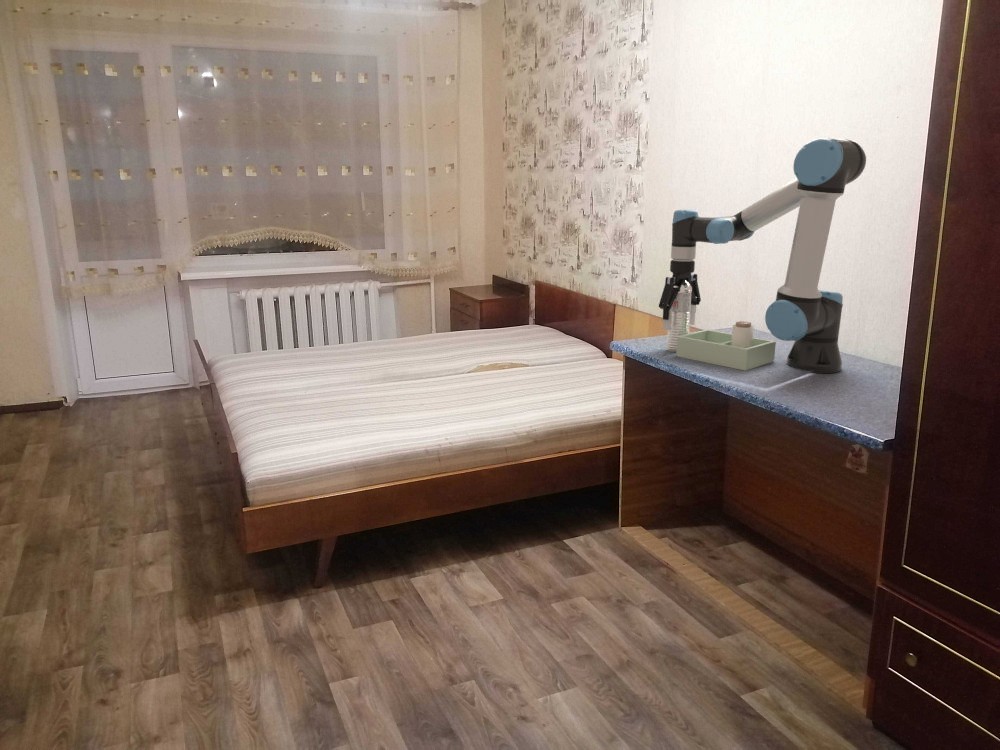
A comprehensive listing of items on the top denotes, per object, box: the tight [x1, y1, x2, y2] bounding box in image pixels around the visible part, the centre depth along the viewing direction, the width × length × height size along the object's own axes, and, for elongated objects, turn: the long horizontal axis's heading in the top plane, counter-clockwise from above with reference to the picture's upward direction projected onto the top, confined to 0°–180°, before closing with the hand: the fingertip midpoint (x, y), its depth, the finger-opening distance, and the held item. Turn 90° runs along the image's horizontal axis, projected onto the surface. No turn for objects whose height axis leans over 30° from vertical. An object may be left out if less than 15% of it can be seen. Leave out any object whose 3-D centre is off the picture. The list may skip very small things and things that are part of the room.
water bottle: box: [666, 280, 692, 354], centre depth 242 cm, size 7×7×25 cm
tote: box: [675, 329, 777, 372], centre depth 230 cm, size 24×16×7 cm, turn 41°
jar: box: [731, 320, 755, 348], centre depth 226 cm, size 6×6×12 cm
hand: (678, 327), depth 243 cm, fingers open, 12 cm apart
